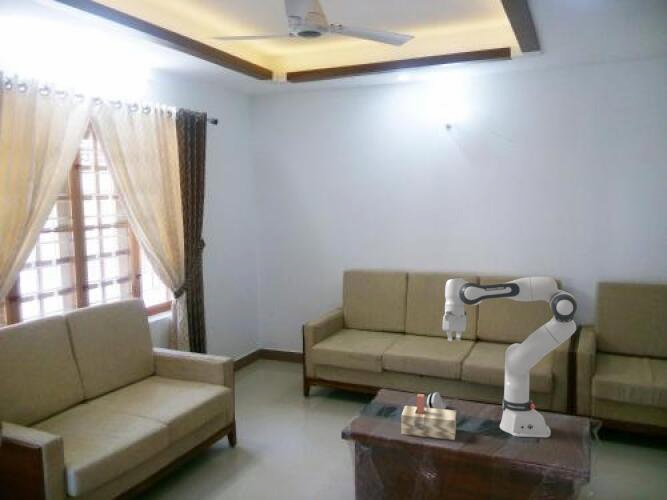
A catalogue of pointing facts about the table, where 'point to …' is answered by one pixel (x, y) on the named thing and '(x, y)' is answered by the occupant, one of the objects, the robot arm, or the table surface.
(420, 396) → the salmon pink square peg
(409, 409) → the beige wooden block
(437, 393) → the hinge
